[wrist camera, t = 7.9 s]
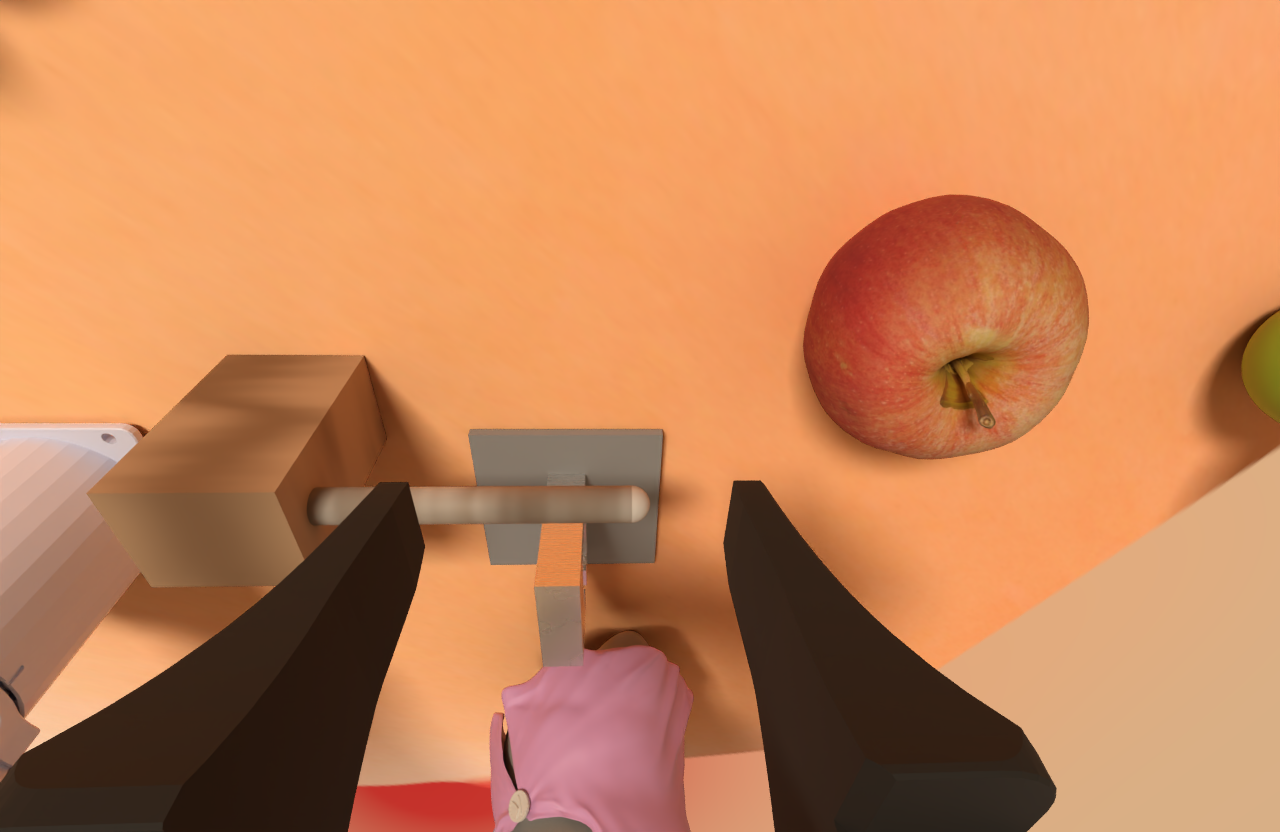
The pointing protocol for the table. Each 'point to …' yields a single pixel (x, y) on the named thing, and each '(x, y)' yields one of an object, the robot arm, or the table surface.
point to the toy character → (594, 745)
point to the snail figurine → (1264, 367)
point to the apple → (945, 328)
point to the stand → (288, 476)
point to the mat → (571, 451)
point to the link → (562, 585)
